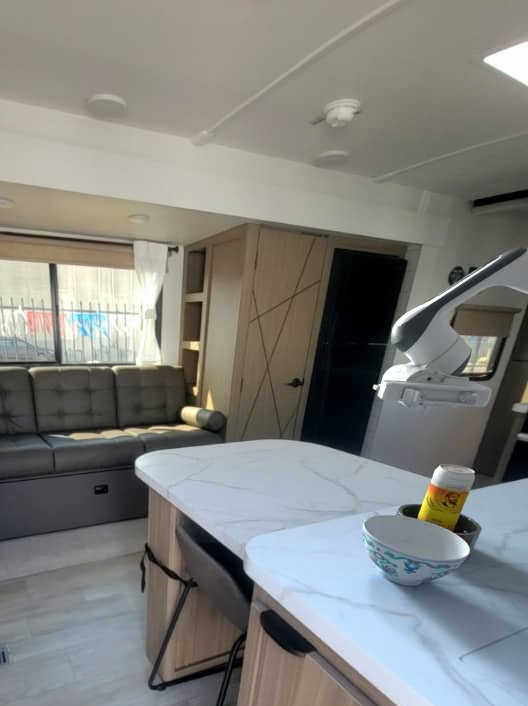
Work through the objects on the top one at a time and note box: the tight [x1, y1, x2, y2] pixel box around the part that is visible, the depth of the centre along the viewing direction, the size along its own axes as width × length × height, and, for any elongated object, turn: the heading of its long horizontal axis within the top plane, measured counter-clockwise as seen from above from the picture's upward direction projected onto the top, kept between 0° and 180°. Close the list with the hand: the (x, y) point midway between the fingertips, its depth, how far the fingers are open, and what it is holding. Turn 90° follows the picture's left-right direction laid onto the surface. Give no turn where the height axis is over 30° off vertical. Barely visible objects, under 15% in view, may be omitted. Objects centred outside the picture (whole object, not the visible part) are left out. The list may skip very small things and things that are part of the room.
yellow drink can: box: [417, 463, 476, 532], centre depth 77 cm, size 6×6×15 cm
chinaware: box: [362, 514, 470, 587], centre depth 68 cm, size 15×15×8 cm
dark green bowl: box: [395, 503, 483, 560], centre depth 79 cm, size 13×13×6 cm
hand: (447, 399), depth 80 cm, fingers open, 8 cm apart
